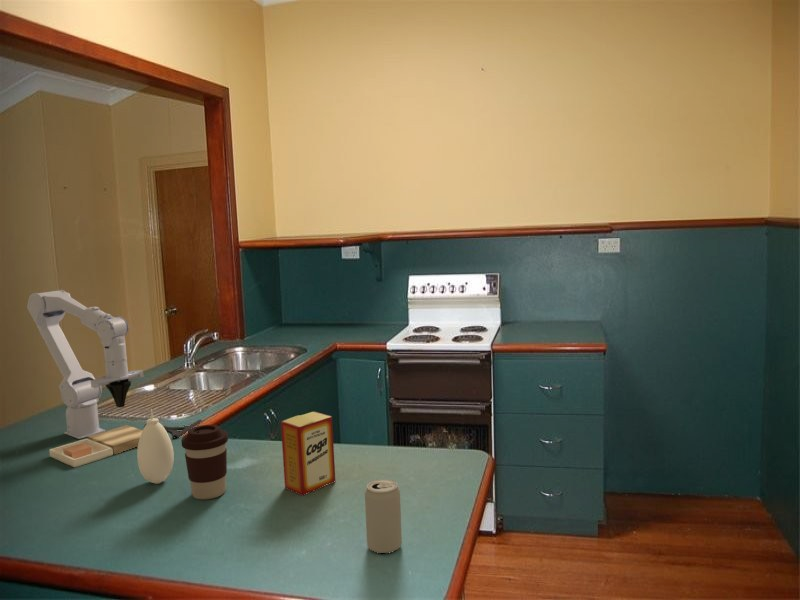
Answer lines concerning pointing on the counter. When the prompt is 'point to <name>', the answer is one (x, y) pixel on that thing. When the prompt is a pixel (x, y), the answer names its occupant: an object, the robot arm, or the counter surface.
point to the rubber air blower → (155, 452)
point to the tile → (77, 451)
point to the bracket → (184, 429)
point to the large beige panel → (119, 438)
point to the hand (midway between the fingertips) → (120, 406)
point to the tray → (97, 453)
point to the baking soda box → (308, 452)
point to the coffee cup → (206, 460)
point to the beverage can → (383, 516)
